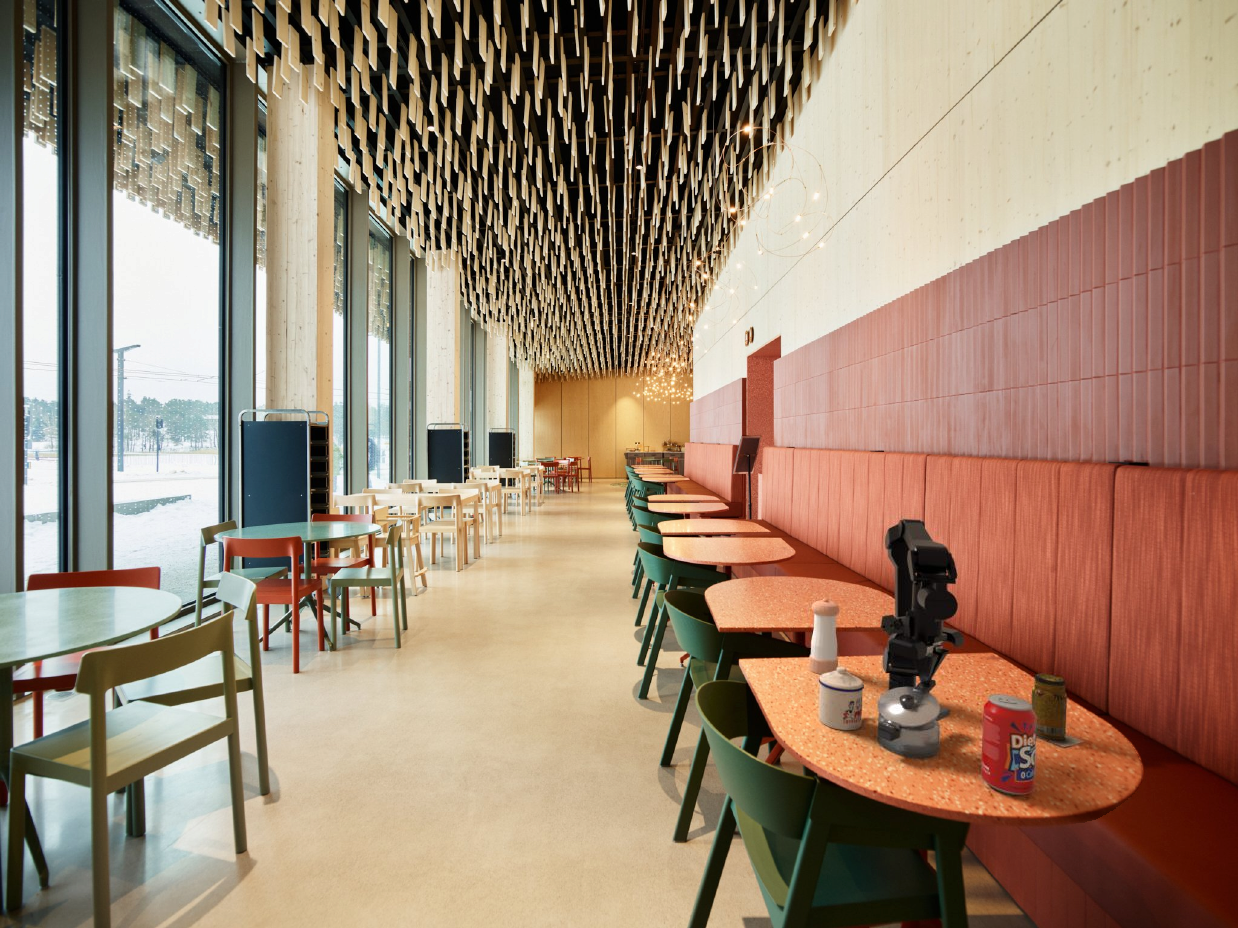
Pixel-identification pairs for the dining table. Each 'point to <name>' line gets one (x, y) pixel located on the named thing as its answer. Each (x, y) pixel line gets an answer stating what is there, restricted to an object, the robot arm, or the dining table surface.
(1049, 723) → the condiment
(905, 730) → the pot
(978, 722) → the dining table surface
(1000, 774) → the soda can
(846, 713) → the teacup with lid
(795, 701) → the dining table surface
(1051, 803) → the dining table surface
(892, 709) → the lid
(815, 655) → the pepper shaker
